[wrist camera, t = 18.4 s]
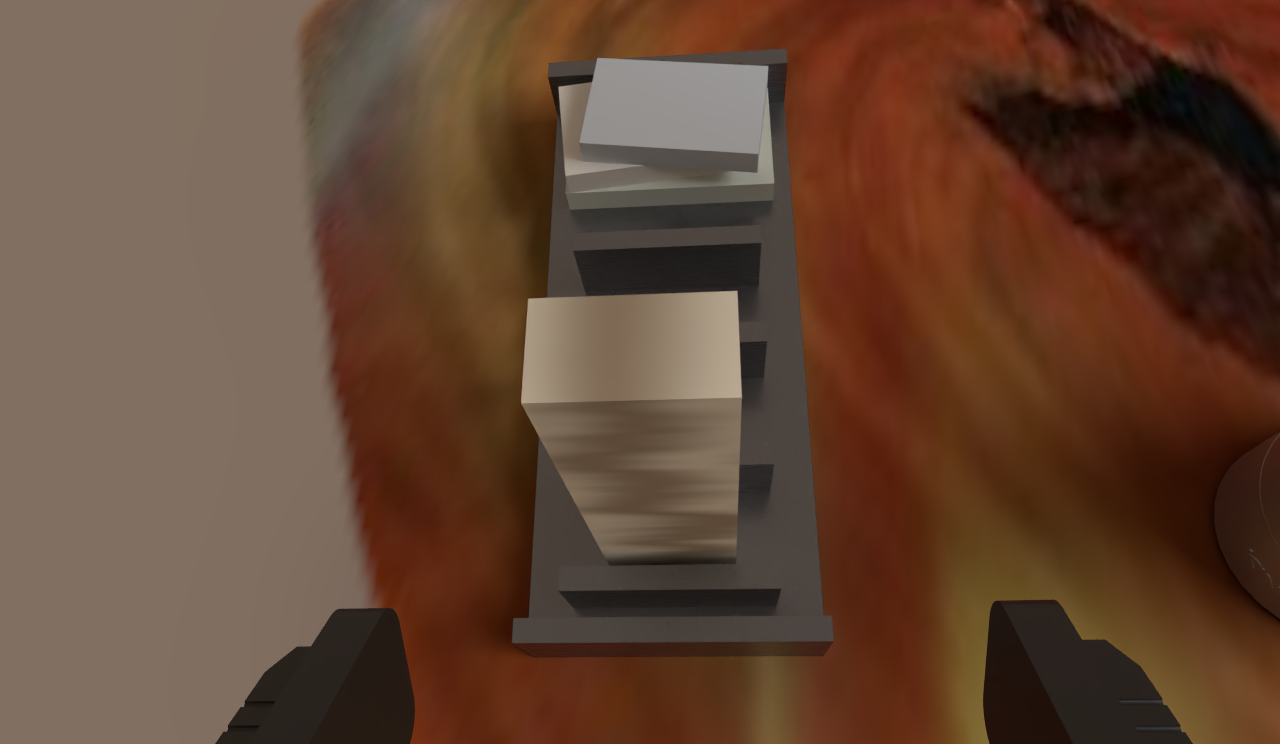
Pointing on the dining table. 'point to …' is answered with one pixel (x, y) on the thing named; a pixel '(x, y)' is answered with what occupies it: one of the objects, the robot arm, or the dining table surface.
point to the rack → (769, 442)
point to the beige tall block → (642, 419)
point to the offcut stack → (667, 135)
